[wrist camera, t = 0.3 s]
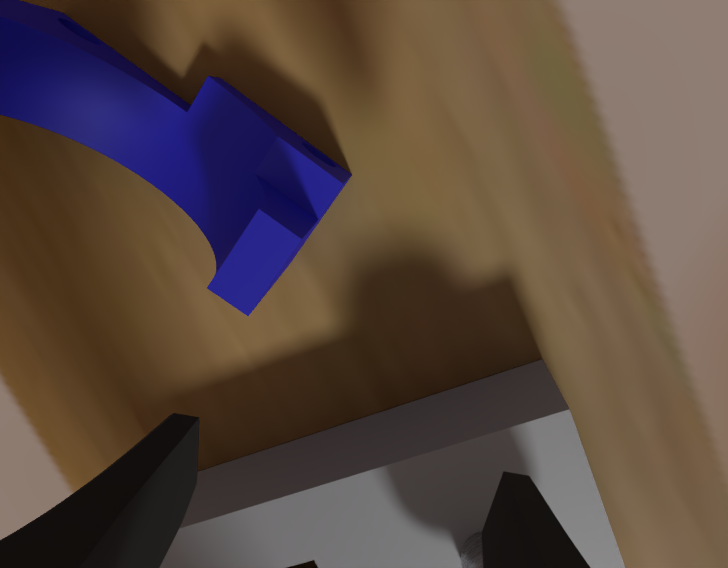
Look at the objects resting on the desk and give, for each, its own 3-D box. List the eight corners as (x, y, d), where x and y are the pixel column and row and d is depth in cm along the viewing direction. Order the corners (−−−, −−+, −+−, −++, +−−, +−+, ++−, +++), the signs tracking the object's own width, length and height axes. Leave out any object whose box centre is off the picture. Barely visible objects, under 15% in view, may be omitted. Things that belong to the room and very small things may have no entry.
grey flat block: (261, 634, 28) (237, 716, 25) (170, 480, 26) (128, 544, 22) (609, 546, 25) (644, 624, 21) (542, 359, 23) (569, 409, 19)
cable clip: (352, 174, 21) (331, 197, 15) (289, 264, 22) (248, 316, 17) (83, -25, 20) (-50, -79, 14) (32, 83, 21) (-108, 74, 15)
